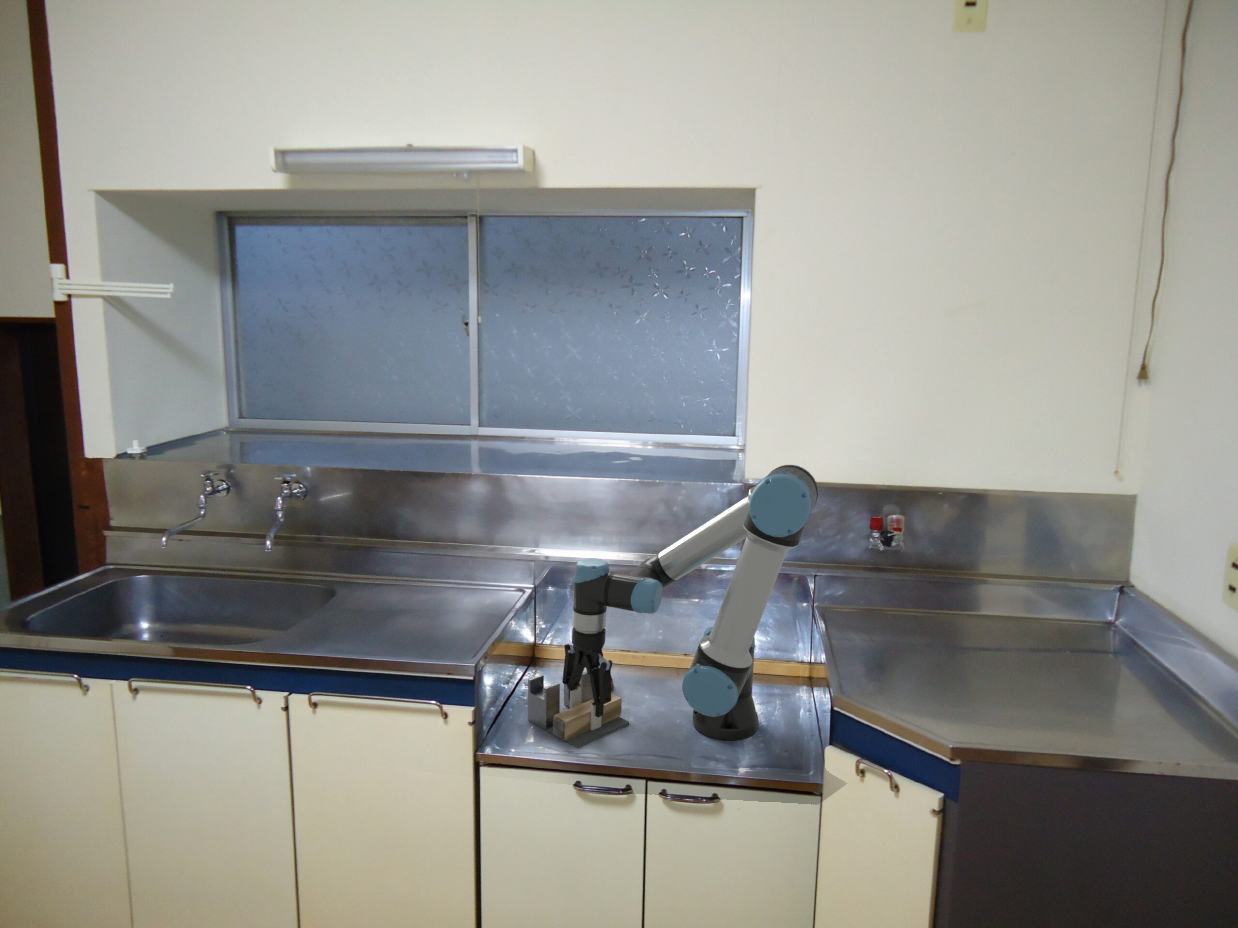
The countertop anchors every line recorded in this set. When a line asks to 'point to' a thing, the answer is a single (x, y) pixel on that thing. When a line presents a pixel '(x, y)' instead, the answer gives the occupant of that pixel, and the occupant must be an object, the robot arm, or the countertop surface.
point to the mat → (596, 732)
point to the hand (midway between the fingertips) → (584, 721)
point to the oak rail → (583, 718)
